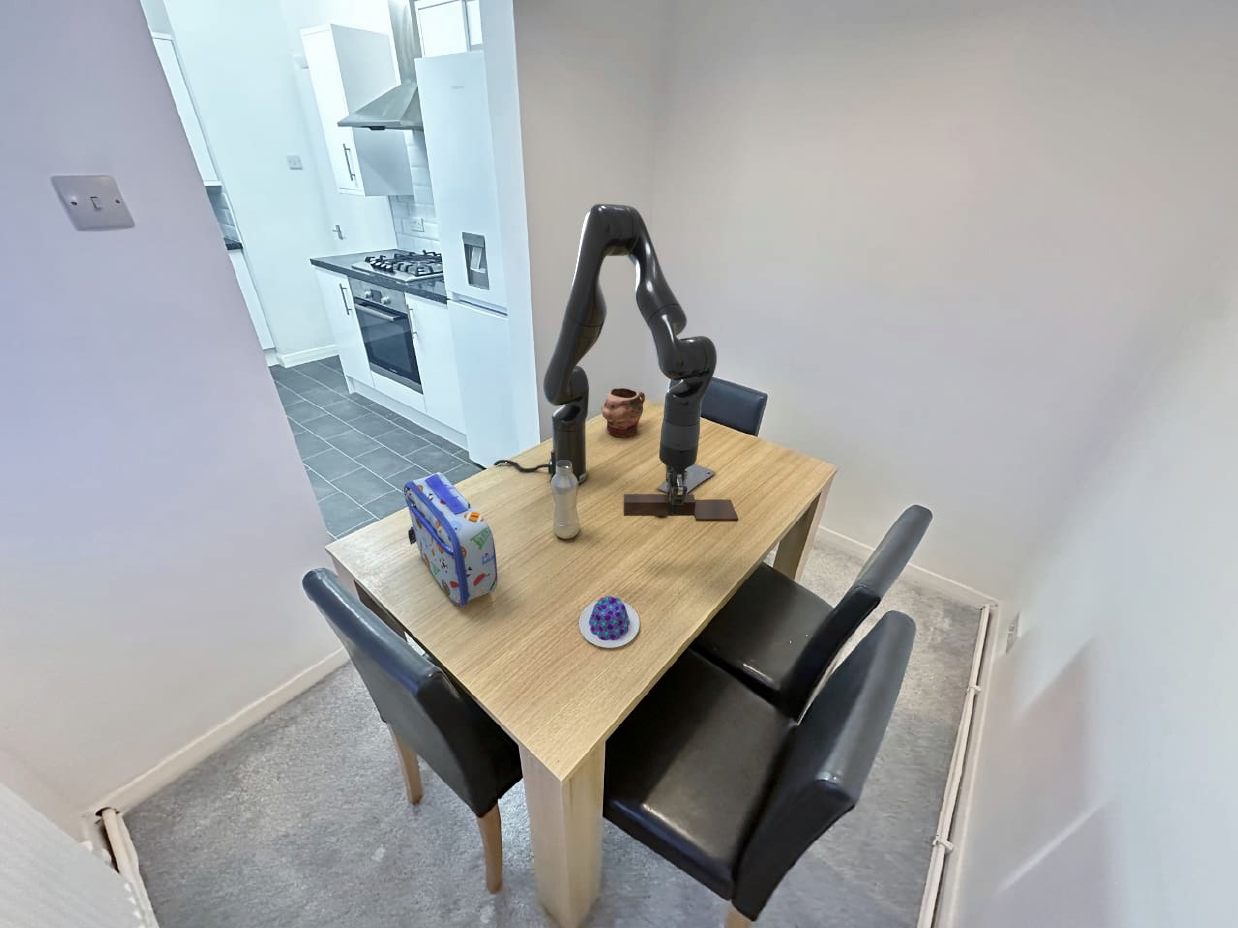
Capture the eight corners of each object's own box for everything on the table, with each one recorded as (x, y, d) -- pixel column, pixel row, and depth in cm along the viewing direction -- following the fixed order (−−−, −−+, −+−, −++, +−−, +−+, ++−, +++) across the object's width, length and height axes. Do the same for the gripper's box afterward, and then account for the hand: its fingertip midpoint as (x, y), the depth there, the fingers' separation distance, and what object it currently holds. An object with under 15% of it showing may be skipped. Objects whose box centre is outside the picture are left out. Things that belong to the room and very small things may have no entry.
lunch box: (407, 549, 114) (386, 470, 103) (449, 531, 120) (434, 454, 109) (461, 621, 97) (444, 535, 85) (507, 596, 103) (497, 512, 91)
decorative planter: (627, 414, 179) (628, 379, 172) (654, 424, 173) (657, 387, 166) (592, 434, 166) (592, 396, 158) (621, 445, 159) (622, 406, 152)
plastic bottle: (559, 545, 117) (556, 474, 107) (549, 529, 122) (545, 460, 112) (584, 537, 120) (583, 468, 109) (573, 522, 125) (571, 454, 114)
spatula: (624, 521, 102) (624, 507, 100) (622, 502, 108) (623, 488, 106) (738, 521, 103) (740, 507, 101) (730, 502, 109) (732, 488, 107)
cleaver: (632, 505, 131) (664, 519, 126) (633, 503, 131) (664, 517, 126) (686, 461, 152) (715, 472, 147) (686, 460, 152) (716, 471, 147)
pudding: (612, 592, 105) (613, 574, 102) (652, 627, 97) (653, 609, 94) (566, 621, 98) (566, 603, 95) (605, 661, 90) (605, 642, 87)
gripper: (657, 422, 102) (652, 491, 111) (664, 457, 90) (658, 530, 99) (692, 423, 102) (684, 491, 111) (705, 457, 90) (695, 530, 99)
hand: (672, 509), depth 105 cm, fingers closed on spatula, 3 cm apart
